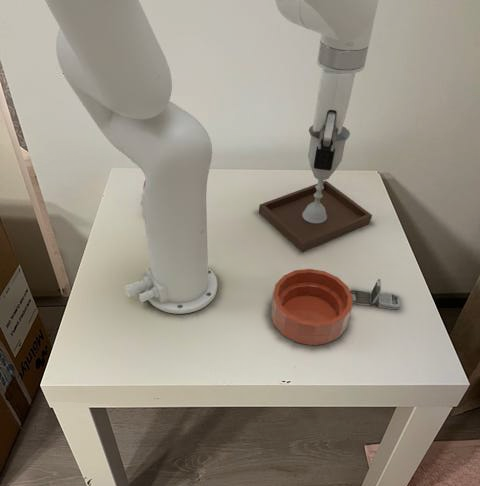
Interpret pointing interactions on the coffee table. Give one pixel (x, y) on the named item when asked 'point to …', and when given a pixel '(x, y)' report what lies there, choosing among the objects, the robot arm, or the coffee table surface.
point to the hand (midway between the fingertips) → (324, 157)
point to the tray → (313, 234)
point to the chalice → (322, 172)
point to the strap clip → (376, 297)
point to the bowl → (311, 306)
